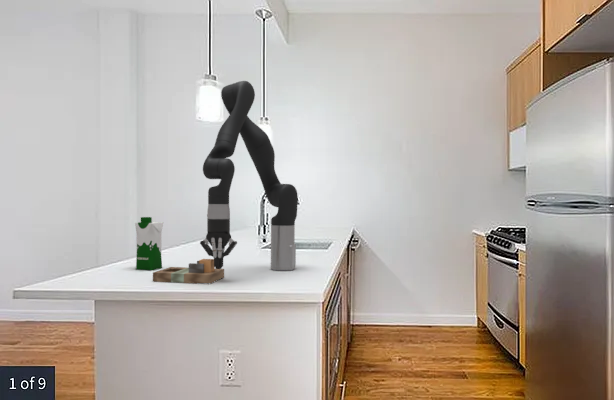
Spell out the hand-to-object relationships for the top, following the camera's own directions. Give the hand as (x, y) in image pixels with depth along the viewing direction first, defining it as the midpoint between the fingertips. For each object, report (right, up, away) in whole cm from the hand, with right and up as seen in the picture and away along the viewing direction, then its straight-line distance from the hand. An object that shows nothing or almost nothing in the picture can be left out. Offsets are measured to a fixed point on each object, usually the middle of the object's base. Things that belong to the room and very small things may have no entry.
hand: (218, 268), depth 189 cm
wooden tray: (-10, -4, +2) cm, 11 cm away
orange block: (-4, -1, +1) cm, 4 cm away
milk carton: (-31, -4, +27) cm, 41 cm away
